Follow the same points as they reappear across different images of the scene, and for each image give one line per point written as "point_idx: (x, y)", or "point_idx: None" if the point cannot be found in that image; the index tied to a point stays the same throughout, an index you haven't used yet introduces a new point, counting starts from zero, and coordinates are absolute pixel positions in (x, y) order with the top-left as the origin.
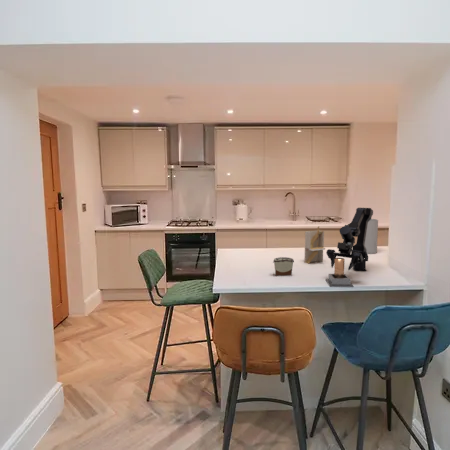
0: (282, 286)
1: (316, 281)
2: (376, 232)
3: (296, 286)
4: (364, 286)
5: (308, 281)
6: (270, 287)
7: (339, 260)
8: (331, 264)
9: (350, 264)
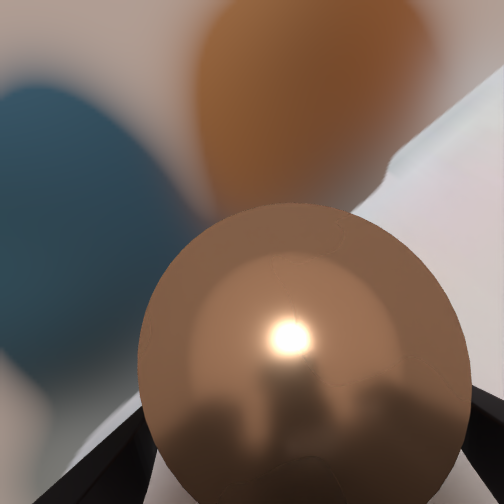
0: (475, 115)
1: (453, 307)
2: None
3: (432, 152)
4: (83, 451)
5: (489, 266)
6: (491, 81)
7: (235, 225)
8: (488, 396)
9: (74, 484)
